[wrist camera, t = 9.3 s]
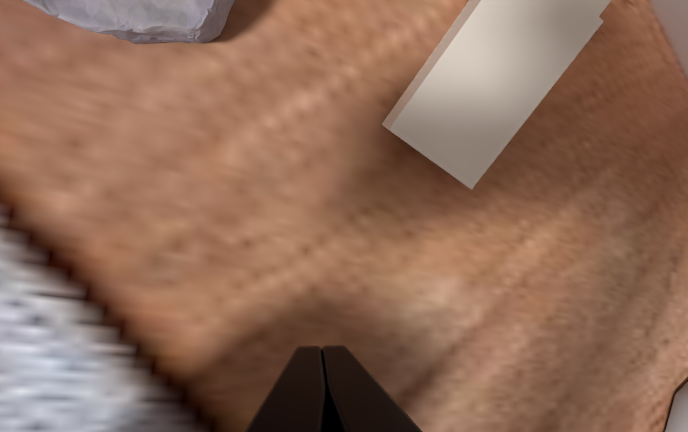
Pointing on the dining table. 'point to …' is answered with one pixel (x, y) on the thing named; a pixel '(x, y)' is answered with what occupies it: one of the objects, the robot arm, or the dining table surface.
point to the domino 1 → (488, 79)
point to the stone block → (144, 18)
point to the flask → (679, 412)
